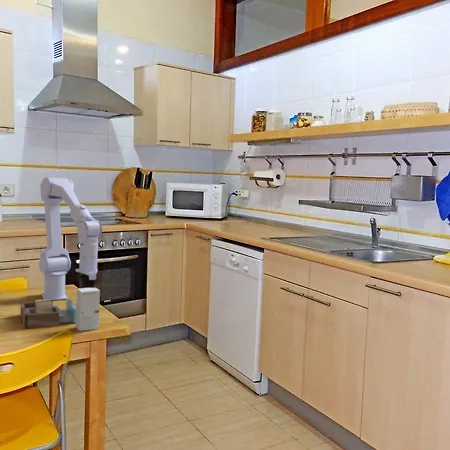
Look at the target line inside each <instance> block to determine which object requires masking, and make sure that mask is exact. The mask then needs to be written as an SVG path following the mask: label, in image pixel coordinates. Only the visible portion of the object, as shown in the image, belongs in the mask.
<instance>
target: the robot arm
mask: <svg viewBox="0 0 450 450" xmlns="http://www.w3.org/2000/svg"><path fill="white" fill-rule="evenodd" d="M74 189H75V184H74V182H73V180H72V179H71V178H70V177H47V176H46V177H44V178H43V179H42V180H41V183H40V197H41V198H40V199H41V201H43V202H44V203H43V204H44V216H45V217H44V218H45V233H46V245H47V246H46V248H45V249H44V250H43V251H41V252H40V254H39V262H38V266H39V271H40V272H41V273H42V274H43V275H44V279H43V292H41V294H40V295H41V297H42V298H43V299H42V300H44V299H50V300H51V301H57V300H58V301H60V300H66V299H67V298H68V296H67V295H66V274H68V272H69V271H70V270H71V266H72V265H71V264H72V262H71V259H70V255H69V251H68V249H65V248H64V247H63V241H62V225H61V212H60V211H61V210H60V205H61V202H64V203H65V205H67V206H68V208H69V209H70V211H69V215H70V217H71V219H72V220H73V222H74V223H75V225H76V226H77V228H76V233H77V236H78V242H79V246H80V247H79V264H78V265H79V268H75V272H76V273H80V274H78V278H79V279H80V283H81V288H94V287H95V285H96V282H97V280H98V278H99V277H98V276H97V273H98V257H99V256H98V251H99V237H100V236H101V235H102V233H103V225H102V223H101V221H100V220H98V219H96V218H94V217H93V216H92V215H91V213H90V212H89V210H88V208H87V206H85V205H84V204H80V202H79V200H78V199H79V198H77V196H76V194H75V190H74Z"/></svg>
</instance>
